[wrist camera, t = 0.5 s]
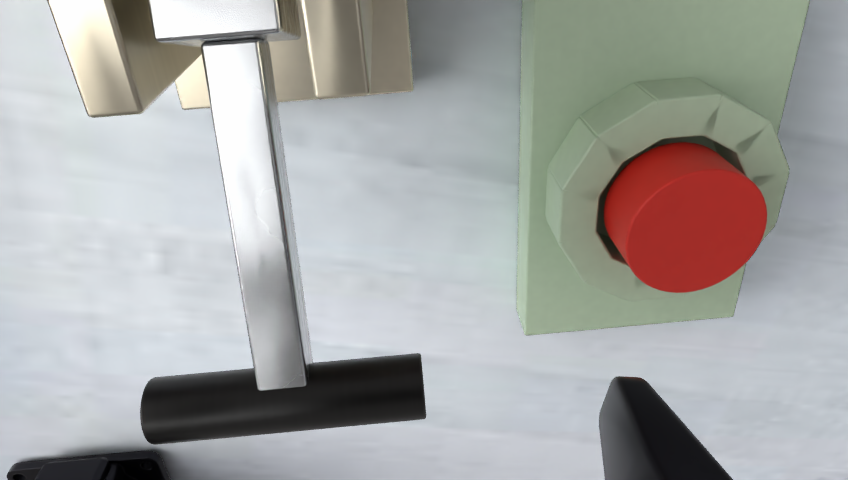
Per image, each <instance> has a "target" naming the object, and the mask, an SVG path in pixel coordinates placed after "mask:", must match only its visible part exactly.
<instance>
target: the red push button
mask: <svg viewBox="0 0 848 480" xmlns="http://www.w3.org/2000/svg"><path fill="white" fill-rule="evenodd" d="M604 224H605V227H606V230H607V232H608V234H609V237H610V238H611V240H612V241H613V243H614V244H615V246H616V247H617V249H618V250H619V252H620V253H621V255H622V256H623V258H624V260H625V261H626V263H627V264H628V266H629V267H630V269H631V270H632V272H633V273H634V274H635V276H636V277H637V278H638V279H639V280H641V281H642V282H643V283H645V284H646V285H648V286H650V287H652V288H655V289H658V290H660V291H665V292H672V293H686V292H693V291H697V290H702V289H705V288H708V287H710V286H713V285H715V284H717V283H719V282H721V281H723V280H725V279H726V278H728V277H729V276H731V275H732V274H734V273H735V272H736V271H738V270H739V269H740V268H741V267H742V266H743V265H744V264H745V263H746V262H747V261H748V260H749V259H750V258H751V256H752V255H753V254H754V252H755V251H756V249H757V248H758V246H759V244H760V242H761V240H762V238H763V235H764V232H765V229H766V224H767V207H766V203H765V200H764V197H763V195H762V193H761V191H760V189H759V188H758V187H757V186H756V184H755V183H754V182H752V181H751V180H750V179H749V178H748V177H746V176H745V175H744V174H743V173H741V172H740V171H739V170H738V169H737V168H735V167H734V166H733V165H732V164H730V163H729V162H728V161H727V160H725V159H724V158H723V157H722V156H720V155H719V154H718V153H717V152H715V151H714V150H712V149H710V148H708V147H706V146H703V145H700V144H696V143H689V142H676V143H670V144H665V145H661V146H658V147H655V148H653V149H650V150H648V151H647V152H645V153H643V154H641V155H640V156H638V157H637V158H635V159H634V160H632V161H631V162H630V163H629V164H628V165H627V166H626V167H625V168H624V169H623V170H622V171H621V172H620V173H619V174H618V176H617V177H616V178H615V180H614V182H613V183H612V185H611V187H610V189H609V191H608V193H607V197H606V200H605V205H604Z"/></svg>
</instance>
